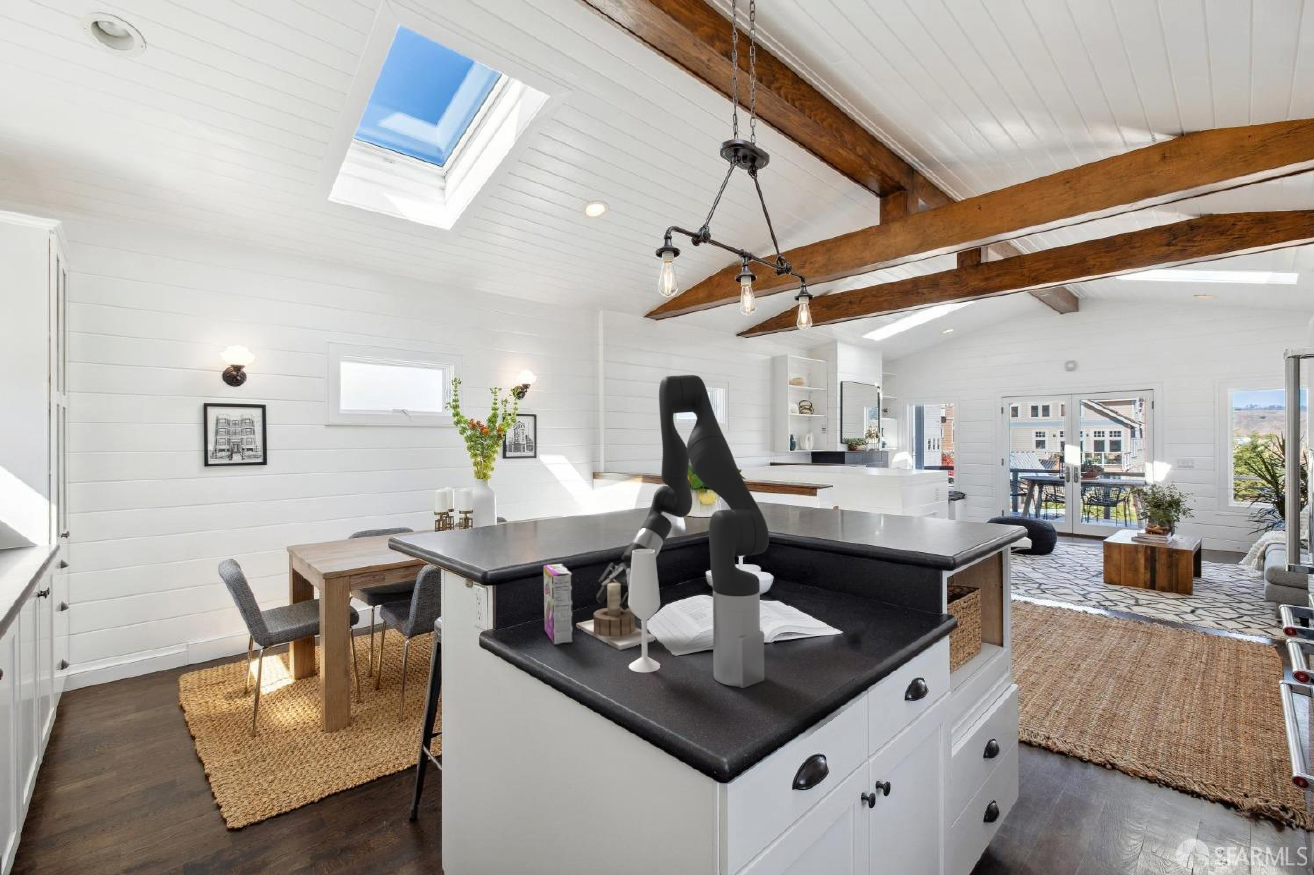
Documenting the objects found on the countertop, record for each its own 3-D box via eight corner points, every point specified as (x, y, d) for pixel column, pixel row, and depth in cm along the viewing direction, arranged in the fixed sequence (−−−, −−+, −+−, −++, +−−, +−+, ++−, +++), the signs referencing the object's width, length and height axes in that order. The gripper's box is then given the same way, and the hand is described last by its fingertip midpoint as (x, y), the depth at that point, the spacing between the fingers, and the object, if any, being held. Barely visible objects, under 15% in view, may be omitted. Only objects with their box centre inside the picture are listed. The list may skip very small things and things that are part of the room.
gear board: (655, 640, 137) (655, 619, 137) (619, 649, 131) (619, 627, 131) (609, 619, 153) (609, 600, 153) (576, 627, 147) (576, 607, 147)
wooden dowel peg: (623, 629, 142) (623, 584, 142) (612, 632, 140) (611, 586, 140) (616, 626, 144) (615, 582, 145) (605, 629, 143) (604, 584, 143)
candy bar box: (543, 631, 145) (542, 564, 145) (563, 628, 147) (562, 563, 147) (552, 645, 134) (551, 574, 134) (573, 642, 136) (573, 572, 136)
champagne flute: (666, 663, 123) (665, 549, 123) (649, 675, 117) (648, 555, 117) (640, 657, 126) (639, 547, 126) (622, 668, 121) (621, 552, 121)
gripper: (616, 538, 153) (582, 590, 144) (655, 544, 143) (622, 601, 134) (631, 555, 156) (599, 607, 148) (670, 563, 147) (638, 619, 138)
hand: (610, 604), depth 141 cm, fingers open, 8 cm apart
